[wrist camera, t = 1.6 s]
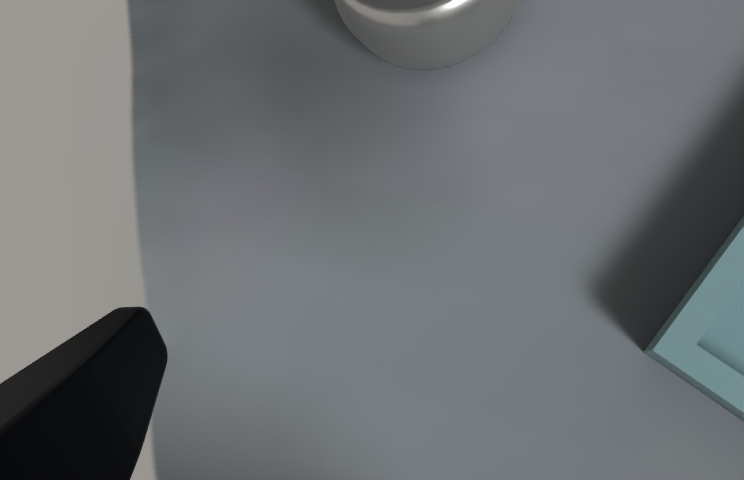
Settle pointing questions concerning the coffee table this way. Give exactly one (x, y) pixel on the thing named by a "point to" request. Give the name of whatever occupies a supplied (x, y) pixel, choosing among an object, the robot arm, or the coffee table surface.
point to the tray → (710, 329)
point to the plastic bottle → (426, 28)
